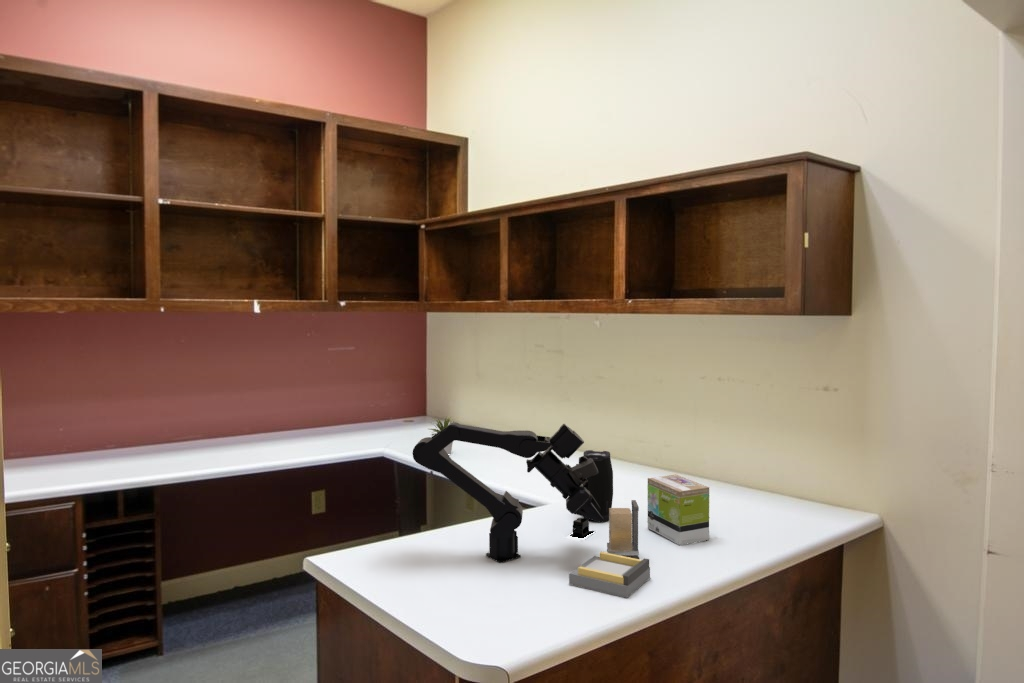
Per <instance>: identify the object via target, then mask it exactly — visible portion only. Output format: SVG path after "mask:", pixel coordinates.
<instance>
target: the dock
mask: <svg viewBox="0 0 1024 683" xmlns="http://www.w3.org/2000/svg"><path fill="white" fill-rule="evenodd" d="M650 579H651V566H650V559H649V558H645V557H644V558H643V559H640V558H639V559H635V558H630V557H629V556H626V555H615V554H610V553H608V552H605V551H601V552H599V556H598V555H594V556H592V557H591V558H589V559H587V560H586V561H585V562H584V563H582V564H581V565H578V567H576V568H575V569H573V570H572V571H571V572H569V573H568V585H570V586H573V587H574V586H576V587H578V588H583V589H587V590H592V591H594V592H595V591H596V592H600V593H603V594H609V595H613V596H617V597H621V598H626V599H628V598H629V597H630V596H631V595H633V593H635V592H636V591H637V590H638V589H639V588H641V587H642V585H644V584H645V583H646V582H647V581H649V580H650Z"/></svg>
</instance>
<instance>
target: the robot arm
mask: <svg viewBox="0 0 1024 683" xmlns="http://www.w3.org/2000/svg"><path fill="white" fill-rule="evenodd" d="M436 433H437V432H436ZM434 434H435V433H434ZM431 436H432V435H431ZM454 441H458V442H464V443H469V444H475V445H480V446H487V447H493V448H499V449H502V450H505V451H507V452H508V453H511V454H512V455H515V456H519V457H521V458H525V459H526V460H525V461H526V467H527V469H526V472H527V473H531V472H532V471H533V469H535V470H537V472H539V473H540V474H541V475H542V476H543V477H544V478H545V479H546V480H547V481H548V482H549V483H550V484H549V485H550V486H551V487H552V488H555V489H556V490H557V491H558V492H559V493H560V494H561V495H562V498H563V499H564V500H565V505H566V506H565V507H566V508H565V509H566V510H567V511H568V512H569V513H570V514H571V515H572V514H573V515H576V516H577V515H578V516H581V517H582V518H583V517H586V518H589V520H592V521H595V522H597V523H600V524H602V523H603V522H602V521H603V518H602V516H601V515H600V514H599V512H598V511H599V510H600V509H601V508H600V507H599V505H598V504H597V502H596V501H595V499H594V498H593V496H592V495H591V493H590V491H589V490H588V480H587V479H586V478H588V477H590V476H592V475H593V476H594V475H596V474H598V469H597V467H596V465H595V463H594V461H593V459H592V458H589V459H588V458H586V457H585V456H584V455H582V456H580V457H578V463H575V464H576V465H573V466H571V465H569V464H567V463H566V464H565V463H564V462H563V461H562V460H561V459H569V458H571V457H572V456H573V455H574V454H575V452H577V451H578V450H579V448H581V447H582V446H583V444H584V443H585V441H584V440H583V438H582V437H581V436H580V435H579V434H578V433H577V432H576V431H575V430H573V429H572V428H570V427H569V426H568V425H566V423H563V424H562V425H561V426H559V428H558V430H557V431H556V432H555V433H553V435H552V436H545V435H537V434H536V433H535V432H534V431H532V430H510V431H505V430H504V431H502V430H497V429H492V428H491V429H490V428H485V427H478V426H474V425H473V426H472V425H468V424H462V423H458V422H453V421H452V422H451V423H450V422H449V423H448V426H447V427H446V428H444V429H443V430H441V431H440V432H438V433H437V434H435V435H433V436H432V437H430V436H429V437H427V436H426V437H424V438H423V437H422V438H421V439H420V440H419V441H418V442H417V443H416V444H415V446H414V447H413V450H412V459H413V461H415V463H417V464H419V465H420V466H422V467H423V468H426V469H428V470H430V471H433V472H436V473H439V474H441V475H443V476H444V477H445V478H446V479H448V480H449V481H450V482H451V483H452V484H454V485H456V486H457V487H458V488H460V489H461V490H463V491H464V492H465V493H466V494H467V495H469V496H470V497H472V498H473V499H474V500H475V501H477V502H478V503H479V504H480V505H482V506H484V507H485V509H487V511H488V513H489V514H490V515H491V517H492V521H491V525H490V529H489V534H488V535H489V536H488V537H489V539H488V540H489V542H488V545H489V546H488V548H489V550H488V551H489V552H487V553H485V556H486V557H488V558H490V559H491V558H492V559H491V560H493V559H494V561H496V562H498V563H505V562H509V561H511V560H515V559H518V558H519V559H520V558H521V556H522V555H521V554H520V553H518V552H519V537H518V536H517V535H518V534H517V531H516V529H518V528H519V527H520V526H521V524H522V521H523V513H524V512H523V506H522V504H520V503H519V502H520V499H519V498H516V497H514V496H513V495H512V494H510V492H508V490H505V492H504V493H503V494H502V493H498V492H495V491H494V490H493V489H491V488H490V487H489V486H487V485H486V484H485V483H484V482H482V481H481V480H479V479H478V478H477V477H476V476H474V475H473V474H472V473H470V472H469V471H468V470H466V468H464V467H462V466H461V465H459V463H457V462H456V461H455V460H454V459H452V457H450V456H449V455H448V454H447V452H446V451H445V450H444V448H445V447H446V446H448V445H449V444H450V443H452V442H454ZM452 444H453V443H452ZM583 480H584V481H585V482H584V483H583V482H582V481H583Z"/></svg>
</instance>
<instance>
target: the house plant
mask: <svg viewBox="0 0 1024 683" xmlns="http://www.w3.org/2000/svg"><path fill="white" fill-rule="evenodd" d="M434 420H435V421H436V423H434V422H429V423H430V424H432V425H433V426H435V428H428V431H429V430H431V434H430V436H431V437H432V436H434V435H435V434H437V433H438V432H440V431H441V430H443V429H444V428H446V427H447V426H448V425H449V424H450V423H453V422H454V421H453V419H451V416H449V417H448V418H447V417H445V418H444V422H442V421H441V420H440V419H439V418H437V419H436V418H434ZM453 442H454V441H453ZM453 442H452V443H450V444H449V445H448V446H446V447H445V448H444V450H445V451H446V452H447V454H451V455H452V450H453Z"/></svg>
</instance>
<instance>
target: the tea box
mask: <svg viewBox="0 0 1024 683" xmlns="http://www.w3.org/2000/svg"><path fill="white" fill-rule="evenodd" d="M647 529H649V530H650V531H653V532H654V533H657V534H659V535H660V536H662V537H664V538H665V539H668V540H669V541H671V542H673V543H675V544H676V543H677V544H676V545H678V544H679V545H678V546H683V545H682V544H686V545H688V544H687V543H691V544H695V543H694V542H697V543H700V542H699V541H702V542H705V541H706V540H707V541H709V540H710V486H707V485H705V484H702V483H698V482H696V481H694V480H692V479H689V478H686V477H683V476H680V475H678V474H669V475H664V476H657V477H650V478H649V477H648V478H647Z"/></svg>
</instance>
